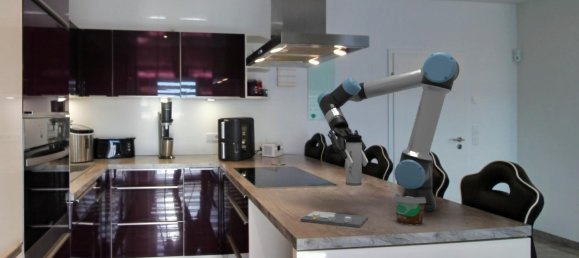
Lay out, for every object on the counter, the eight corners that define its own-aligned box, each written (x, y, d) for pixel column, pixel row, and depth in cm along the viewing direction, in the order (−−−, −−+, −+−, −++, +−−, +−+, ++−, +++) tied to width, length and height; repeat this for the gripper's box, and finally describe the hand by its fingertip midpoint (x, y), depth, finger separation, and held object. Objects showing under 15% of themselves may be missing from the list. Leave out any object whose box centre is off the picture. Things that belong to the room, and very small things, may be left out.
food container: (387, 221, 160) (387, 194, 160) (396, 218, 165) (396, 192, 165) (417, 227, 152) (417, 199, 151) (425, 224, 156) (426, 197, 156)
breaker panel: (368, 219, 164) (368, 212, 164) (359, 227, 151) (359, 220, 151) (313, 213, 172) (313, 207, 172) (300, 221, 159) (300, 214, 159)
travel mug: (356, 183, 175) (356, 133, 174) (364, 185, 169) (364, 134, 168) (342, 183, 173) (342, 133, 172) (350, 186, 166) (350, 134, 166)
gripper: (352, 127, 188) (375, 169, 174) (313, 128, 180) (333, 171, 166) (359, 115, 183) (383, 157, 169) (319, 115, 175) (340, 158, 161)
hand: (358, 164), depth 167 cm, fingers closed on travel mug, 6 cm apart
